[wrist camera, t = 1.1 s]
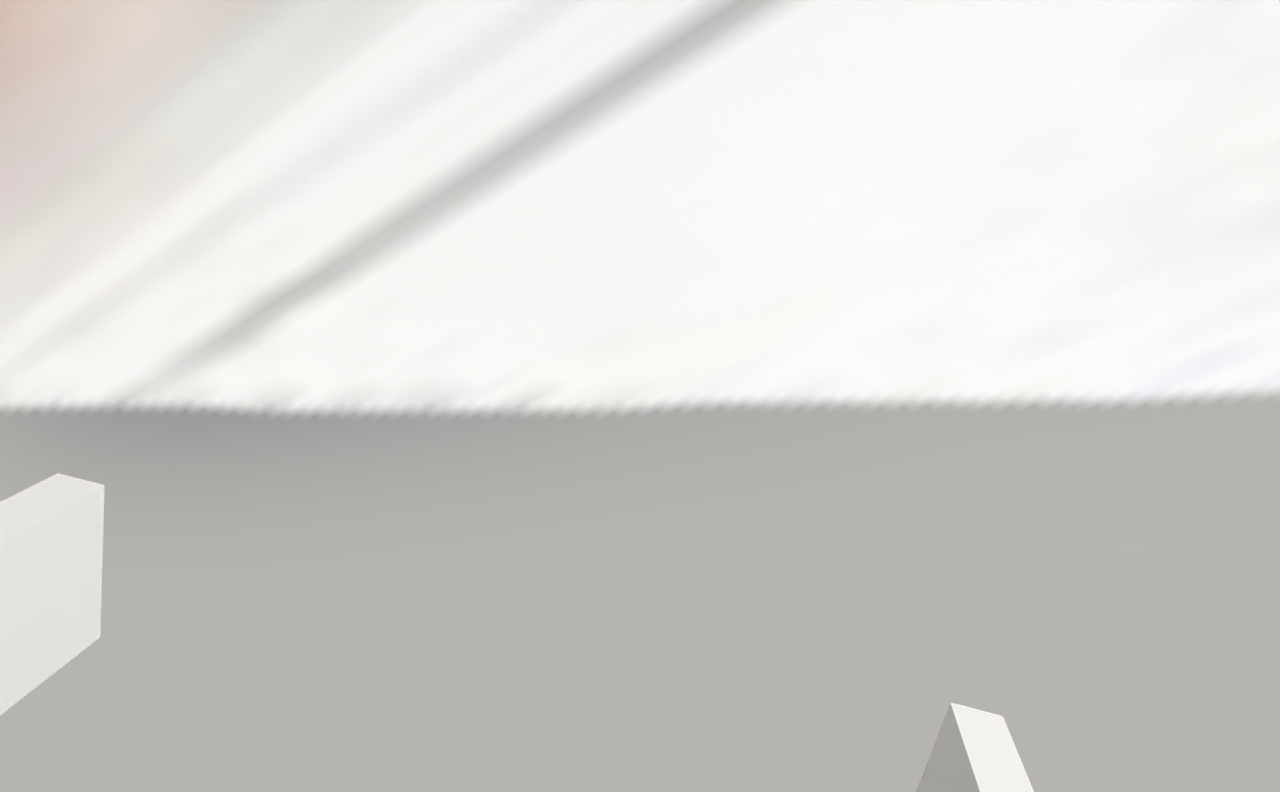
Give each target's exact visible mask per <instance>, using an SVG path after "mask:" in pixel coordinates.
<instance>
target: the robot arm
mask: <svg viewBox="0 0 1280 792" xmlns="http://www.w3.org/2000/svg"><path fill="white" fill-rule="evenodd" d="M103 520H104V485H102V484H98V483H94V482H90V481H87V480H82V479H79V478H75V477H71V476H67V475H63V474H59V473H57V474H55V475H53V476H51V477H49V478H47V479H45V480H43V481H41V482H39V483H37V484H35V485H33V486H31V487H29V488H27V489H25V490H23V491H21V492H19V493H18V494H16V495H13V496H11V497H10V498H7V499H5V500H3V501H2V502H0V715H1V714H3V713H4V712H6V711H7V710H8V709H9V708H11V707H12V706H13V705H14V704H16V703H17V702H18V701H19V700H21V699H22V698H23V697H25V696H26V695H27V694H28V693H30V692H31V691H32V690H33V689H35V688H36V687H37V686H39V685H40V684H41V683H42V682H43V681H45V680H46V679H47V678H49V677H50V676H51V675H52V674H54V673H55V672H56V671H58V670H59V669H60V668H61V667H63V666H64V665H65V664H66V663H68V662H69V661H70V660H72V659H73V658H74V657H75V656H77V655H78V654H79V653H81V652H82V651H83V650H84V649H86V648H87V647H88V646H89V645H91V644H92V643H93V642H95V641H96V640H97V639H98V638H100V631H101V594H102V591H101V590H102V557H103ZM916 792H1034V791H1033V789H1032V786H1031V784H1030V782H1029V779H1028V777H1027V774H1026V772H1025V769H1024V767H1023V765H1022V762H1021V760H1020V757H1019V755H1018V752H1017V750H1016V747H1015V745H1014V743H1013V740H1012V738H1011V735H1010V733H1009V730H1008V728H1007V726H1006V723H1005V721H1004V718H1003V716H1001V715H997V714H992V713H989V712H985V711H981V710H977V709H973V708H969V707H965V706H962V705H958V704H954V703H950V705H949V708H948V710H947V713H946V716H945V718H944V721H943V723H942V726H941V729H940V731H939V734H938V736H937V739H936V742H935V744H934V747H933V750H932V752H931V755H930V757H929V760H928V762H927V765H926V768H925V770H924V773H923V776H922V778H921V781H920V783H919V786H918V789H917V791H916Z"/></svg>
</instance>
